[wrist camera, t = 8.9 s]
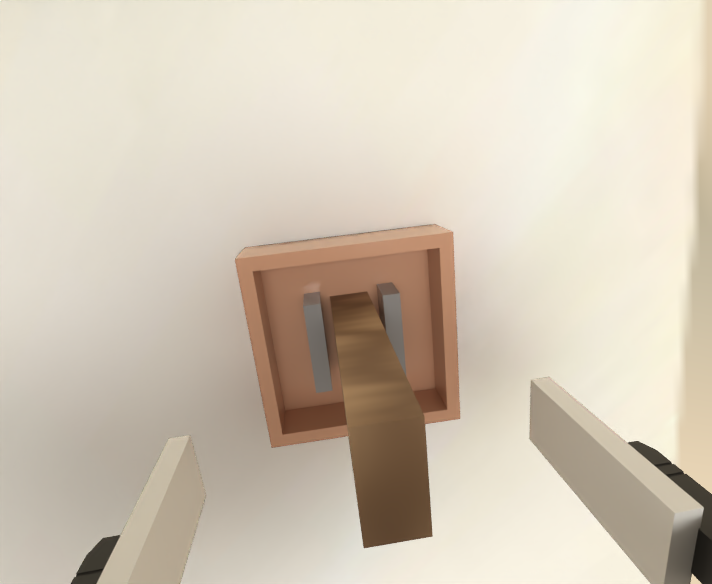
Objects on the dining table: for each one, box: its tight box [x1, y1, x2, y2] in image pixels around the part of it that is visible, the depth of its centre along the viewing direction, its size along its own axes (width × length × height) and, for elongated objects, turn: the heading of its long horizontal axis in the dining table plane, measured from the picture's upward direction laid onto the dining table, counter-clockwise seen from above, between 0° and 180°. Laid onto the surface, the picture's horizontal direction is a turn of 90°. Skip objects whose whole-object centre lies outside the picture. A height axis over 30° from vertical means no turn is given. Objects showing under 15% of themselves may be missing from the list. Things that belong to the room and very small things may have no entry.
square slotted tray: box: [235, 224, 460, 448], centre depth 26 cm, size 12×12×4 cm
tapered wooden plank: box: [330, 291, 432, 548], centre depth 20 cm, size 2×5×14 cm, turn 6°
